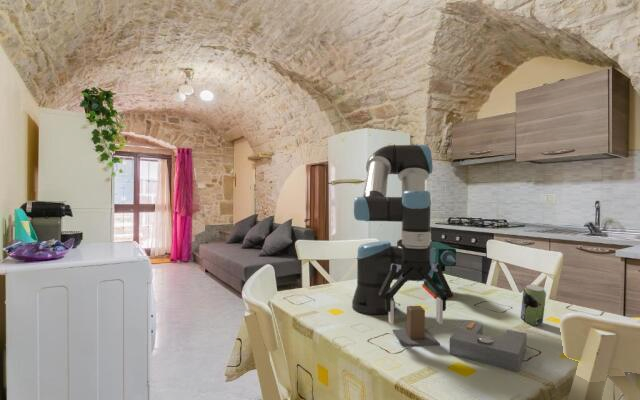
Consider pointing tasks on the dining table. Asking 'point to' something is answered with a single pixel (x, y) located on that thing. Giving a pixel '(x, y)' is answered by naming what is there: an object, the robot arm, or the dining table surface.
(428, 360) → the dining table surface
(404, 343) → the mat
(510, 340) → the peg insertion board
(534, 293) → the beverage can
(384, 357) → the dining table surface
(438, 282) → the power tool
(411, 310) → the wooden block
